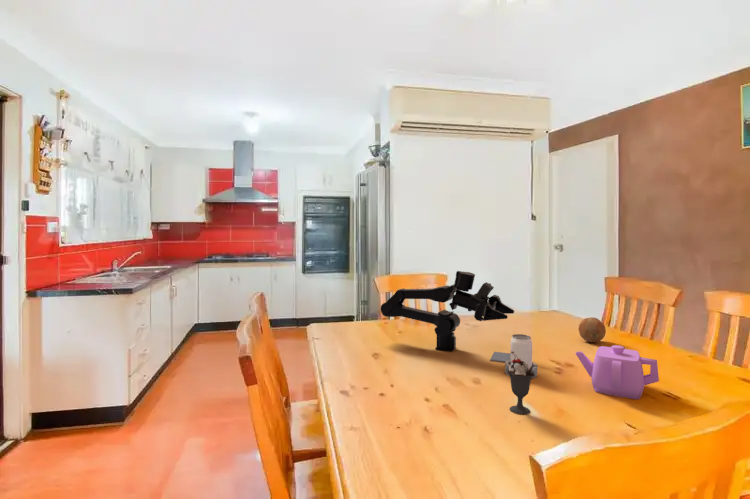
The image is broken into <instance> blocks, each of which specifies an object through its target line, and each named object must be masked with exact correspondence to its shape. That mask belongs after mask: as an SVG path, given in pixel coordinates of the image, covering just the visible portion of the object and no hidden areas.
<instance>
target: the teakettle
mask: <svg viewBox="0 0 750 499" xmlns="http://www.w3.org/2000/svg"><path fill="white" fill-rule="evenodd" d="M575 355H576V357H577V358H578V360H579V361H580V363H581V364H582V366H583V367H584V369H585V371H586V372H587V374H588V376H589V377H590V378H591V383H592V387H593V390H594V392H595V393H598V392H599V394H603V393H604V395H609V396H614V397H620V398H624V397H625V399H631V400H640V398H641V397H642V394H643V392H644V388H645V386H648V385H650V384H651V385H652V384H654V383H658V382H660V378H659V377H660V376H659V368H658V367H659V366H658V359H652V358H647V357H641V355H640V352H639V351H637V350H633V349H628V348H625V347H624V346H623V345H616V344H615V345H611V346H603V345H602V346H599V347H598V348H597V350H596V352H595V356H594V359H593V362H592V361H591V360H590V359H589V358H588V356H587V355H585V353H584V352H583V351H581V350H580V351H575ZM643 365H647V366H650V369H649V370H650V371H649V372H650V373H648V374H645V375H644V368H643Z"/></svg>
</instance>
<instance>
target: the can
mask: <svg viewBox="0 0 750 499" xmlns="http://www.w3.org/2000/svg"><path fill="white" fill-rule="evenodd" d="M531 338H532V336H530V335H527V334H519V333H517V334H512V336H511V340H510V353H511V352H514V353H515V354H516V355H515V354H514V353H513V354H512V353H511V364H513V362H512V360H514V359H515V360H517V357H518V359H520V360H521V361H523V362H525V363H526V364H527V365H528V368H531V367H532V362H533V341H532V339H531ZM514 355H515V356H514ZM516 356H517V357H516Z"/></svg>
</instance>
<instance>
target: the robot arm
mask: <svg viewBox="0 0 750 499" xmlns="http://www.w3.org/2000/svg"><path fill="white" fill-rule="evenodd" d="M475 277H476V274H475V273H473V272H469V271H461V270H457V271H456V273H455V279H454V283H453V284H451V285H443V286H437V287H434V288H433V287H432V288H404V287H403V288H400V289H399V288H398V289H397V290H396V291H395V292H394V294H392V296H391V297H390V298H389V299H388V300H387V301H386V302H383V303H382V304H381V306H380V312H381V314H382V316H384V317H387V318H396V317H397V318H398V317H404V318H407V319H410V320H415V321H419V322H424V323H426V324H427V323H428V324H432V325H434V326H436V327H435V328H434V332H435V335H436V347H435V350H438V351H446V352H453V350H455V348H456V347H457V346H456V344H457V341H456V340H457V337H456V336H455V332H456V328H458V327H459V326H460V324H461V318H460V316H459V315H458V314H457V313H454V310H455V309H457V308H458V307H461V308H464V309H466V310H467V311H468V312H472V311H473V312H474V314H473V315H474V319H475V320H476V321H478V322H482V321H483V322H485V321H486V322H487V321H495V320H496V321H497V320H507V319H508V315H509V314H514V313H515V310H514V309H513V308H511V307H509V306H508V305H506V304H504V303H503V302H502V300H501V298H500V296H499V295H497V294H493V295H492V296H489V295H490V293H491V291H493V290H494V286H493V285H492V283H489V282H483V284H482V285H481V286H480V288H479V290H478V291H477V293H474V294H472V293H469V290H471V291H472V289H473V286H474V282H475ZM405 300H431V301H433V302H438V303H447V302H449V301H451V302H450V303H448V305H449V306H450V308H451V310H452V311H449V310H446V309H443V310H440V311H439V312H437V313H436V312H434V311H428V310H423V309H419V308H414V307H410V306H406V305H405V304H404V302H405ZM507 314H508V315H507Z"/></svg>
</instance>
